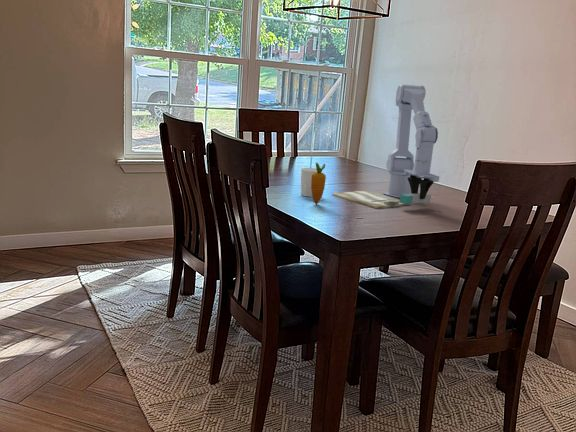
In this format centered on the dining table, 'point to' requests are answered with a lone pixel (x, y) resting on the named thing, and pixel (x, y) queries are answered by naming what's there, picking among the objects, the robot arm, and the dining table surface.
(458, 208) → the dining table surface
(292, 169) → the dining table surface
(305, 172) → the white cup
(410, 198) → the eraser
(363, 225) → the dining table surface
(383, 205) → the cream rectangular tray
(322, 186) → the carrot
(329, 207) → the dining table surface
